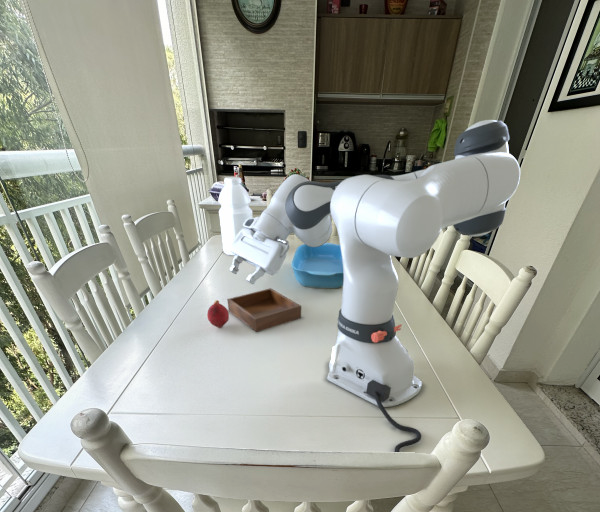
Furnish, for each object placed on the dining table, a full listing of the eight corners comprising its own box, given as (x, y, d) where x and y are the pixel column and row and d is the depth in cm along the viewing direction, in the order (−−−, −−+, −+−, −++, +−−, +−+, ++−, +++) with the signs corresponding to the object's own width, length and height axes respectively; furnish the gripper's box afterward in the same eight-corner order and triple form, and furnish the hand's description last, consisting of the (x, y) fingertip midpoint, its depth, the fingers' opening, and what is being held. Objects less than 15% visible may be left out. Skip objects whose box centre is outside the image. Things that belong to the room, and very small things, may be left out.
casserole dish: (353, 295, 120) (355, 274, 116) (288, 291, 122) (288, 270, 117) (350, 261, 149) (352, 243, 144) (298, 258, 150) (298, 240, 146)
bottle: (252, 256, 151) (248, 180, 134) (220, 255, 151) (211, 179, 134) (256, 247, 162) (252, 175, 145) (226, 246, 162) (218, 175, 145)
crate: (301, 318, 106) (301, 305, 103) (256, 332, 98) (255, 319, 96) (271, 299, 116) (270, 288, 114) (228, 311, 109) (227, 299, 106)
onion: (225, 333, 97) (222, 306, 92) (206, 331, 98) (201, 304, 93) (233, 324, 102) (230, 297, 97) (214, 322, 103) (210, 295, 98)
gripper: (299, 250, 90) (268, 295, 92) (257, 233, 103) (231, 273, 105) (284, 234, 86) (252, 282, 87) (242, 218, 98) (215, 260, 100)
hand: (240, 277), depth 96 cm, fingers open, 8 cm apart
